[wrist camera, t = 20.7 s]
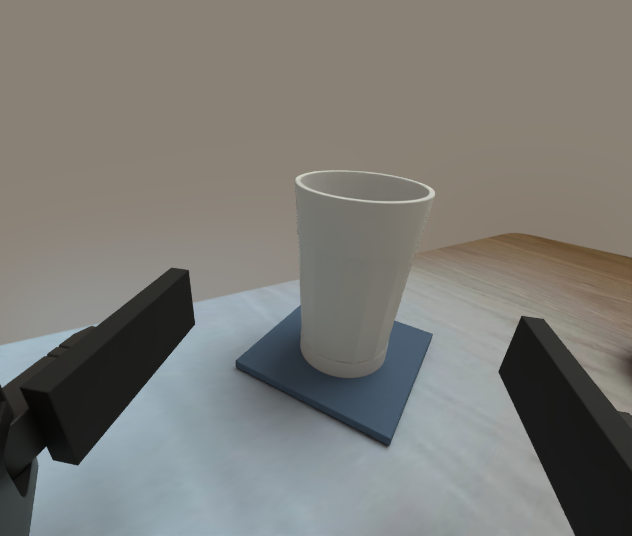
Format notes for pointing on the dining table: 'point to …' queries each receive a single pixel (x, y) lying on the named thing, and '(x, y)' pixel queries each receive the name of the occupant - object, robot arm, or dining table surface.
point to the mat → (342, 393)
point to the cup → (354, 263)
